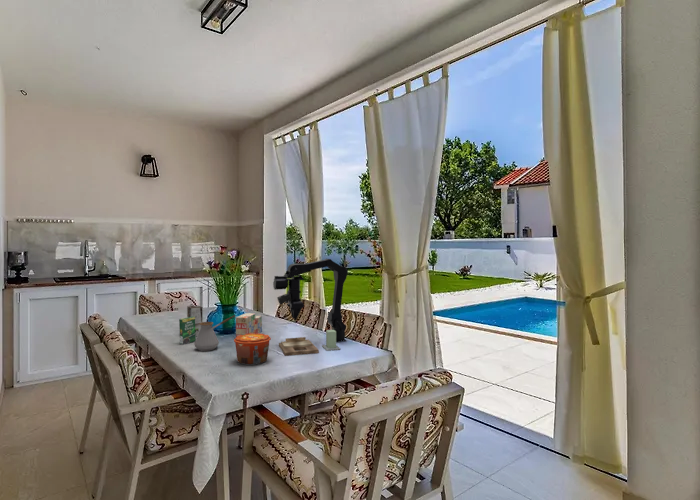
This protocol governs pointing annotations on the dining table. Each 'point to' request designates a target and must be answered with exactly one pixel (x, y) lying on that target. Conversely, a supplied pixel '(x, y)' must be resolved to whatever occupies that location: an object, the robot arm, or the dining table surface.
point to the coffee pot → (208, 336)
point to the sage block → (331, 338)
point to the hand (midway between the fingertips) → (294, 319)
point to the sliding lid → (296, 342)
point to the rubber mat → (330, 348)
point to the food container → (252, 348)
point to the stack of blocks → (248, 324)
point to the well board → (304, 350)
